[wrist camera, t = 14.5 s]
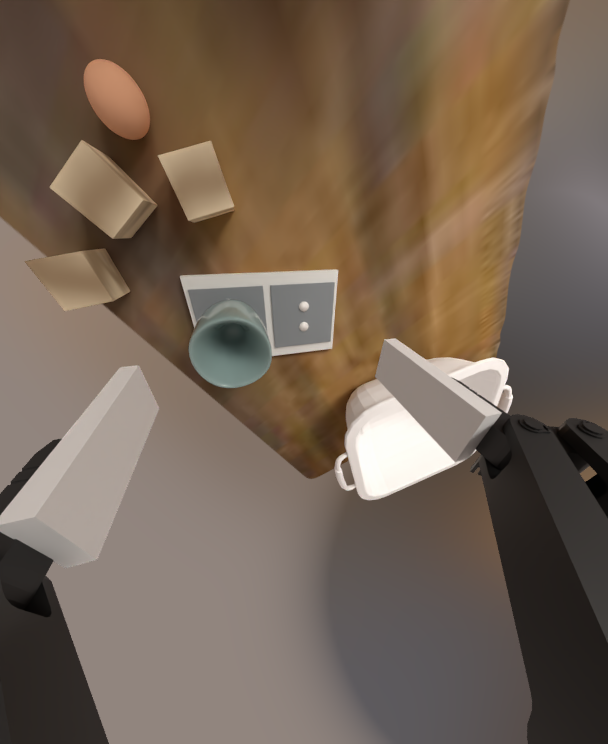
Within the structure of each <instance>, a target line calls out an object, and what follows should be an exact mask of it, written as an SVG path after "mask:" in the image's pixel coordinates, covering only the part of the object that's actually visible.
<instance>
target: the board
mask: <svg viewBox="0 0 608 744" xmlns="http://www.w3.org/2000/svg"><path fill="white" fill-rule="evenodd" d="M180 279H181V283H182V286H183V290H184V293H185V297H186V300H187V304H188V307H189V311H190V314H191V318H192V321H193V325H194V328H195V325H196V323H197V321H198V319H199V318H200V316H201V315H202V313H203V312H204V311H205V310H206V309H207V308H208V307H210V306H211V305H212V304H214V303H216V302H218V301H222V300H226V299H237V300H241V301H244V302H245V303H247V304H249V305H250V306H251V307H252V308H253V309H254V310H255V311H256V312H257V313H258V315H259V316H260V318H261V320H262V322H263V324H264V326H265V328H266V331H267V334H268V337H269V340H270V344H271V349H272V356H277V355H285V354H293V353H301V352H309V351H317V350H325V349H332V342H333V330H334V317H335V304H336V292H337V279H338V270H336V269H334V270H308V271H282V272H256V273H230V274H204V275H181V276H180Z"/></svg>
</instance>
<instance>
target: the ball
mask: <svg viewBox="0 0 608 744" xmlns="http://www.w3.org/2000/svg"><path fill="white" fill-rule="evenodd" d="M84 87H85V91H86V95H87V97H88V100H89V102H90V104H91V106H92V108H93V110H94V111H95V113H96V114H97V116H98V117H99V118H100V120H101V121H102V122H103V123H104V124H105V125H106V126H107V127H108V128H109V129H110V130H112V131H113V132H114V133H116V134H117V135H119V136H121V137H123V138H126V139H130V140H137V139H141V138H142V137H144V136H145V135H146V134H147V132H148V130H149V126H150V113H149V108H148V105H147V102H146V100H145V97H144V95H143V93H142V91H141V90H140V88H139V86H138V85H137V84H136V82H135V81H134V80H133V79H132V77H131V76H130V75H129V74H128V73H127V72H126V71H125V70H123V69H122V68H121V67H119V66H118V65H117V64H115V63H113V62H111V61H108V60H104V59H96V60H93V61H91V62H90V63H89V64H88V65H87V67H86V69H85V72H84Z"/></svg>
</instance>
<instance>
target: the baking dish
mask: <svg viewBox="0 0 608 744" xmlns="http://www.w3.org/2000/svg"><path fill="white" fill-rule="evenodd" d="M427 361H428V362H430V363H431V364H433V365H434V366H436V367H437V368H438V369H440V370H441V371H443V372H444V373H446V374H447V375H448V376H450V377H452V378H454V379H456V380H459V381H460V382H462V383H463V384H465V385H466V386H468V387H469V389H472V390H474V391H475V392H476V393H477V394H479V395H481V396H482V397H484V398H485V399H487V400H488V401H490V402H491V403H492V404H494V405H495V406H497V407H498V408H500V409H501V410H503V411H504V412H506V413H508V410H509V408H510V405H511V403H512V399H513V396H512V389H511V387H510V386H508V385H505V383H506V381H507V376H508V370H509V368H508V366H507V365H506V363H505V361H504V360H501V359H497V358H489V359H485V360H481V361H478V362H476V363H475V362H471V361H466V360H462V359H456V358H449V357H448V358H433V359H428V360H427ZM503 390H504V393H502V391H503ZM499 399H500V400H499ZM498 402H499V403H498ZM346 423H347V428H348V430H347V432H346V434H345V444H344V445H345V449H346V452H345V453H343V454H342V455H340V456H339V457H338V458H337V459H336V461H335V467H334V469H335V475H336V478H337V480H338V483H339V485H340V486H341V488H342V489H345V490H346V491H349V490H352V489H354V488H355V487H356V489H357V493H358V495H359V496H360V497H361V498H362V499H366V500H375V499H380V498H383V497H385V496H388V495H390V494H392V493H395V492H397V491H399V490H401V489H404V488H406V487H408V486H410V485H413V484H415V483H417V482H419V481H421V480H424V479H426V478H428V477H430V476H433V475H435V474H437V473H439V472H441V471H444V470H446V469H448V468H450V467H453V466H455V465H457V464H459V463H460V462H462V461H464V460H461V461H457V462H454V461H453V460H452V458H451V457H450V456H449V455H448V454H447V453H446V452H445V451H444V450H443V449H442V448H441V447H440V446H439V445H438V443H437V442H436V441H435V440H434V439H433V438H432V437H431V436H430V435H429V434H428V433H427V432H426V431H425V430H424V428H423V427H422V426H421V425H420V424H419V423H418V422H417V421H416V420H415V419H414V418H413V417H412V416H411V415H410V413H409V412H408V411H407V410H406V409H405V408H404V407H403V406H402V405H401V404H400V403H399V402H398V401H397V400H396V398H395V397H394V396H393V395H392V394H391V393H390V392H389V391H388V390H387V389H386V388H385V387H384V386H383V385H382V383H381V382H380V381H379V380H378V379H375V380H372V381H370V382H368V383H365V384H363V385H361V386H359V387H358V388H357V389H356V390H355V391H354V392H353V393H352V394H351V396H350V398H349V400H348V402H347V405H346ZM475 451H476V449H475ZM475 451H474V452H475ZM474 452H473V453H474ZM347 456H348V460H349V463H350V467H351V471H352V474H353V478H354V482H355V483H354V484H352V485H349V486H347V485H346V482H345V480H344V477H343V472H342V469H341V468H340V464H341V462H342V460H343V459H344V458H346V457H347ZM465 460H466V459H465Z"/></svg>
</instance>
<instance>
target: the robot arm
mask: <svg viewBox="0 0 608 744" xmlns="http://www.w3.org/2000/svg"><path fill="white" fill-rule="evenodd" d="M375 377H376V378H377V379H378V380H379V381H380V382H381V383H382V385H383V386H384V387H385V388H386V389H387V390H388V391H389V392H390V393H391V394H392V395H393V396H394V397H395V398H396V400H397V401H398V402H399V403H400V404H401V405H402V406H403V407H404V408H405V409H406V410H407V411H408V412H409V413H410V415H411V416H412V417H413V418H414V419H415V420H416V421H417V422H418V423H419V424H420V425H421V426H422V427H423V428H424V430H425V431H426V432H427V433H428V434H429V435H430V436H431V437H432V438H433V439H434V440H435V441H436V442H437V443H438V445H439V446H440V447H441V448H442V449H443V450H444V451H445V452H446V453H447V454H448V455H449V456H450V457H451V458H452V460H453V461H454V462H457V461H461V460H465V459H468V458H470V456H471V455H472V454H473V452H474V451H475V449H476V450H477V451H478V452H480V453H481V455H480V457H479V458H478V459H477V460H476V462H475V463H474V464H473V466H472V467H471V472H474V471H475V470H476V469H477V468H478V467H480V471H479V472H478V475H481V476H482V479H483V484H484V488H485V492H486V497H487V501H488V506H489V510H490V515H491V519H492V523H493V528H494V532H495V537H496V541H497V545H498V550H499V554H500V558H501V563H502V567H503V572H504V576H505V581H506V585H507V589H508V594H509V598H510V602H511V607H512V611H513V616H514V620H515V625H516V629H517V633H518V638H519V642H520V647H521V651H522V656H523V660H524V664H525V668H526V673H527V677H528V682H529V686H530V691H531V697H532V712H531V715H530V718H529V721H528V726H527V740H528V744H608V431H606V430H605V429H603V428H602V427H600V426H598V425H596V424H595V423H592V422H589V421H586V420H581V419H577V418H569V419H568V420H566V421H565V422H564V423H563V424H562V425H561V426H560V427H549V426H546V425H545V424H543V423H542V422H540V421H538V420H536V419H534V418H531V417H528V416H525V415H519V414H517V415H512V416H510V415H508V414H507V413H506V412H504V411H503V410H501V409H500V408H498V407H497V406H495V405H494V404H492V403H491V402H490V401H488V400H487V399H485V398H484V397H482V396H481V395H479V394H477V393H476V392H475V391H474V390H472V389H469V387H468V386H466V385H465V384H463V383H462V382H460V381H459V380H456V379H454V378H452V377H450V376H448V375H447V374H446V373H444V372H443V371H441V370H440V369H438V368H437V367H436V366H434V365H433V364H431V363H430V362H428V361H427V360H426V359H424V358H423V357H421V356H420V355H418V354H417V353H415V352H414V351H413V350H411V349H410V348H408V347H407V346H405V345H404V344H403V343H401V342H400V341H398V340H397V339H385V340H384V343H383V347H382V351H381V355H380V359H379V363H378V367H377V371H376V375H375ZM158 411H159V407H158V405H157V402H156V400H155V398H154V396H153V394H152V392H151V390H150V388H149V386H148V383H147V382H146V379H145V377H144V375H143V373H142V371H141V369H140V367H139V365H138V366H128V367H120V368H119V369H118V370H117V372H116V373H115V374H114V375H113V377H112V378H111V379H110V380H109V382H108V383H107V384H106V385H105V387H104V388H103V389H102V390H101V391H100V393H99V394H98V395H97V396H96V398H95V399H94V400H93V402H92V403H91V404H90V405H89V406H88V408H87V409H86V410H85V411H84V412H83V414H82V415H81V416H80V417H79V419H78V420H77V421H76V422H75V424H74V425H73V426H72V427H71V429H70V430H69V431H68V433H66V435H65V436H64V437H63V438H62V439H57V440H53V441H52V442H50V443H49V444H48V445H46V446H45V447H44V448H42V449H41V450H40V451H38V452H37V453H36V454H35V455H34V456H33V457H32V458H31V459H30V461H29V462H28V463H27V464H26V465H25V466H24V467H23V468H22V472H19V473H18V474H17V475H16V476H15V478H14V479H13V480H12V481H11V485H8V486H7V487H6V488H5V489H4V490H3V491H2V492H1V494H0V744H109V743H108V740H107V737H106V734H105V731H104V728H103V726H102V723H101V720H100V717H99V714H98V712H97V709H96V706H95V703H94V700H93V697H92V695H91V692H90V689H89V686H88V683H87V680H86V678H85V675H84V672H83V669H82V666H81V664H80V661H79V658H78V655H77V652H76V649H75V647H74V644H73V641H72V638H71V635H70V633H69V630H68V627H67V624H66V621H65V618H64V616H63V613H62V610H61V607H60V604H59V601H58V599H57V596H56V593H55V590H54V587H53V585H52V582H51V581H50V580H49V578H47V577H46V576H45V575H46V573H47V571H48V570H49V568H50V566H51V564H52V562H53V561H54V562H56V563H57V564H59V565H61V566H63V567H64V568H68V567H72V566H76V565H79V564H83V563H87V562H90V561H94V560H97V559H98V556H99V554H100V552H101V549H102V547H103V544H104V542H105V539H106V537H107V534H108V532H109V530H110V527H111V525H112V522H113V520H114V517H115V515H116V512H117V510H118V508H119V505H120V503H121V500H122V498H123V496H124V493H125V491H126V488H127V486H128V483H129V481H130V478H131V476H132V474H133V471H134V469H135V466H136V464H137V462H138V459H139V457H140V454H141V452H142V449H143V447H144V445H145V442H146V440H147V437H148V435H149V432H150V430H151V428H152V425H153V423H154V420H155V418H156V415H157V413H158ZM589 466H591V467H592V468H593V469H594V470H595V471H596V473H597V475H595V476H594V477H592V478H591V479H589V480H588V481H586V482H585V481H584V480H583V478H582V477H581V475H580V473H581V472H582V471H584V470H585V469H586V468H587V467H589Z"/></svg>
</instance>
